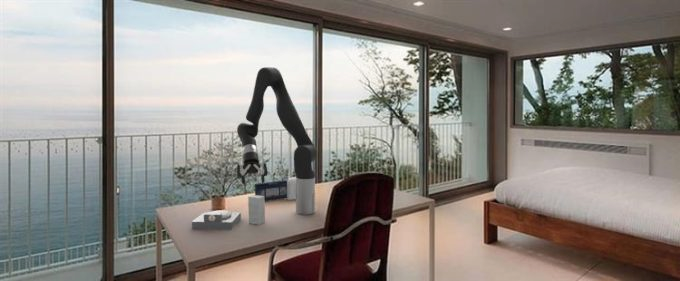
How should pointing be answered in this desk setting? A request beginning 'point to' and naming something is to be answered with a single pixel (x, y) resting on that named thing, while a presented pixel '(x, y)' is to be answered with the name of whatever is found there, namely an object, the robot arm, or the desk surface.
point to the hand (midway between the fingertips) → (253, 183)
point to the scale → (216, 220)
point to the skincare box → (256, 209)
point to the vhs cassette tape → (272, 190)
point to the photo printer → (291, 188)
